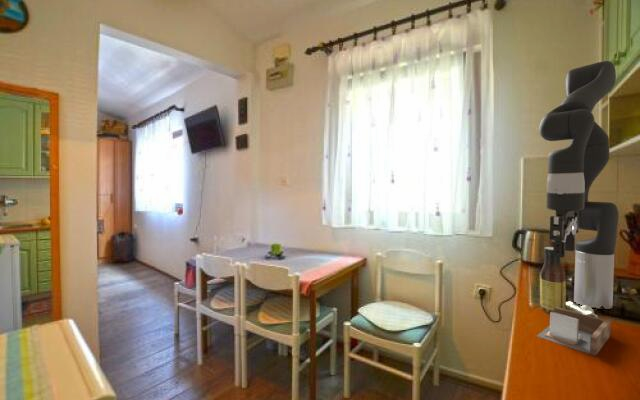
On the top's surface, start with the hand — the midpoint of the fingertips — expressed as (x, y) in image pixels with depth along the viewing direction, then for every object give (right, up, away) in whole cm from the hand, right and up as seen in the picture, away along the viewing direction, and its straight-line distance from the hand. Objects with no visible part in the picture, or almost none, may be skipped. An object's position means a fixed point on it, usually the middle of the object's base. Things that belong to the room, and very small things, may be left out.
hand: (564, 253), depth 79 cm
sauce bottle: (+8, -21, +14) cm, 26 cm away
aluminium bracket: (-1, -21, -2) cm, 21 cm away
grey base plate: (+1, -21, -1) cm, 21 cm away
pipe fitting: (+14, -21, +10) cm, 27 cm away
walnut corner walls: (+1, -21, -1) cm, 21 cm away
